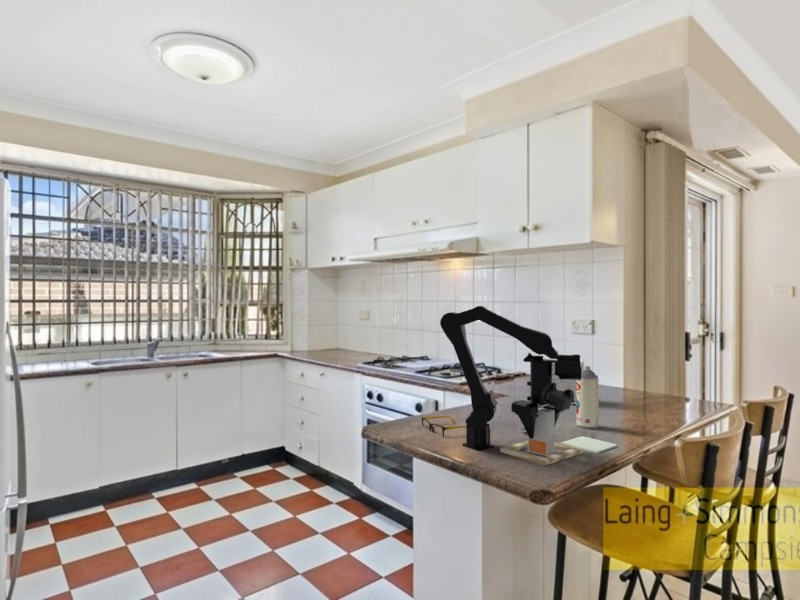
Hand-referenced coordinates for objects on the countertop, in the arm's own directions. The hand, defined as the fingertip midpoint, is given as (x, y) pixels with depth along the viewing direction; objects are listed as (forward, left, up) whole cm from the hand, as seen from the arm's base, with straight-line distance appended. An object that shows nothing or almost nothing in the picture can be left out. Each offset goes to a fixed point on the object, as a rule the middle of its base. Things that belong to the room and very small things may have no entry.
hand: (541, 435), depth 130 cm
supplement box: (+67, +36, -5) cm, 76 cm away
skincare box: (0, 0, -5) cm, 5 cm away
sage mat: (+17, -4, -5) cm, 18 cm away
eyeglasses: (-4, +32, -5) cm, 33 cm away
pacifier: (+14, +14, -6) cm, 21 cm away
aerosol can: (+36, +8, -5) cm, 37 cm away
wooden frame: (0, 0, -5) cm, 5 cm away
